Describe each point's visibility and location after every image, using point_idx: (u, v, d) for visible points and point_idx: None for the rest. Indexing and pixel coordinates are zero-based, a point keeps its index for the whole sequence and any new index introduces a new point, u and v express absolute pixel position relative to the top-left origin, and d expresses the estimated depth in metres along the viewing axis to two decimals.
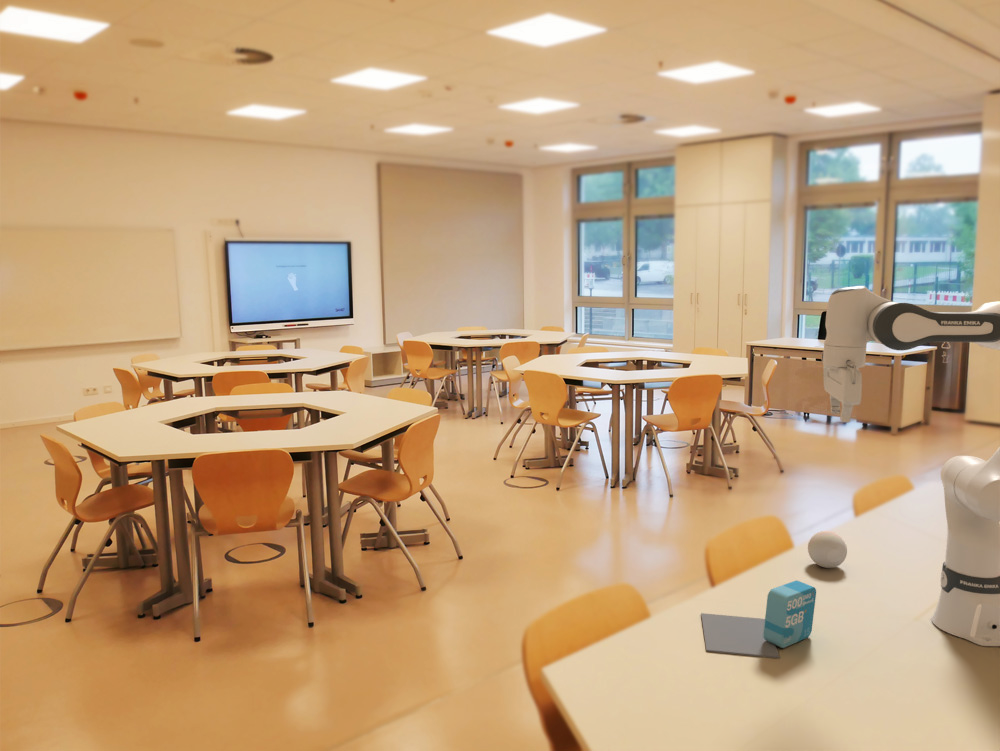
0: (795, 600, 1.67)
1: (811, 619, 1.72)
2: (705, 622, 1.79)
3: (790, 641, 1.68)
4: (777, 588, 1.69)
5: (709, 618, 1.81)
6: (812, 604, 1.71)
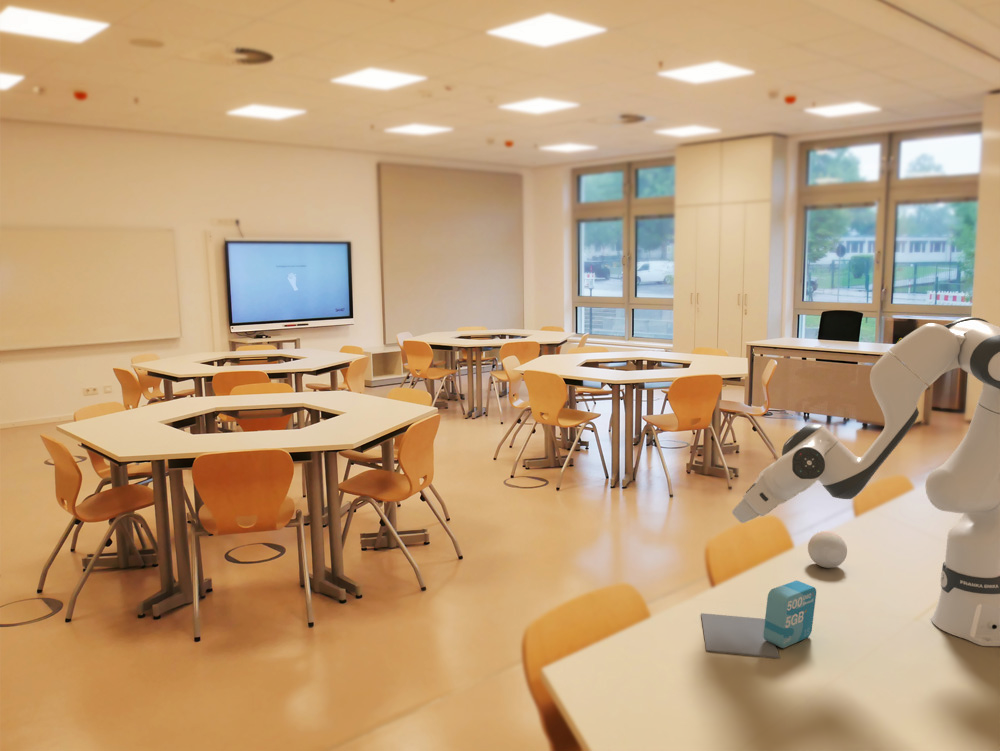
0: (795, 600, 1.67)
1: (811, 619, 1.72)
2: (705, 622, 1.79)
3: (790, 641, 1.68)
4: (777, 588, 1.69)
5: (709, 618, 1.81)
6: (812, 604, 1.71)
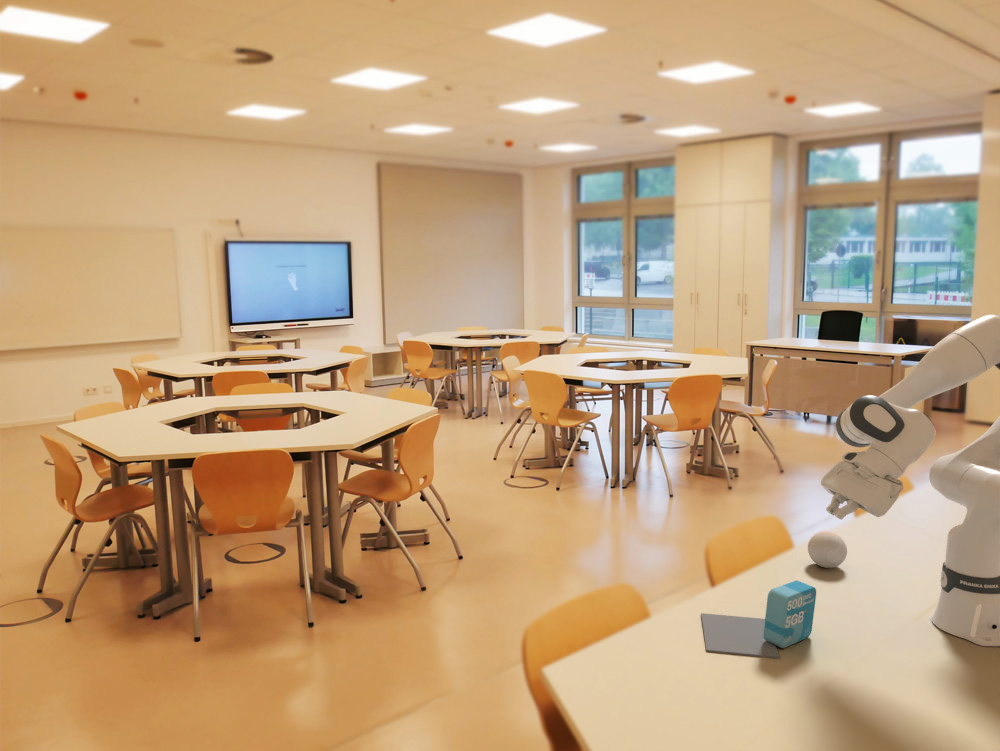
0: (795, 600, 1.67)
1: (811, 619, 1.72)
2: (705, 622, 1.79)
3: (790, 641, 1.68)
4: (777, 588, 1.69)
5: (709, 618, 1.81)
6: (812, 604, 1.71)
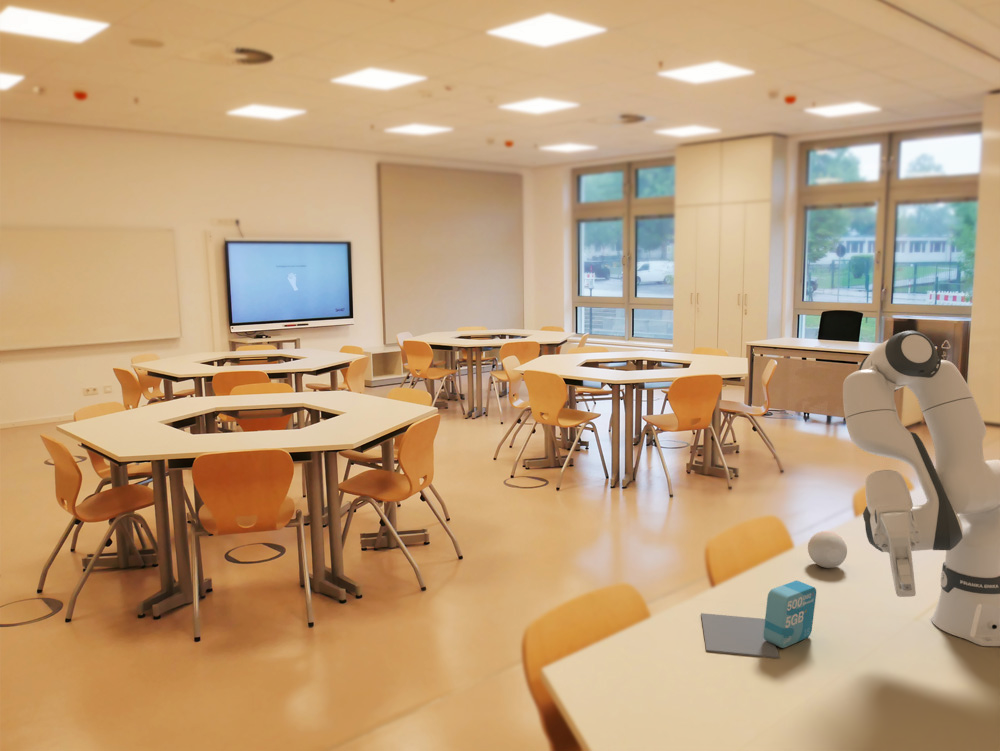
0: (795, 600, 1.67)
1: (811, 619, 1.72)
2: (705, 622, 1.79)
3: (790, 641, 1.68)
4: (777, 588, 1.69)
5: (709, 618, 1.81)
6: (812, 604, 1.71)
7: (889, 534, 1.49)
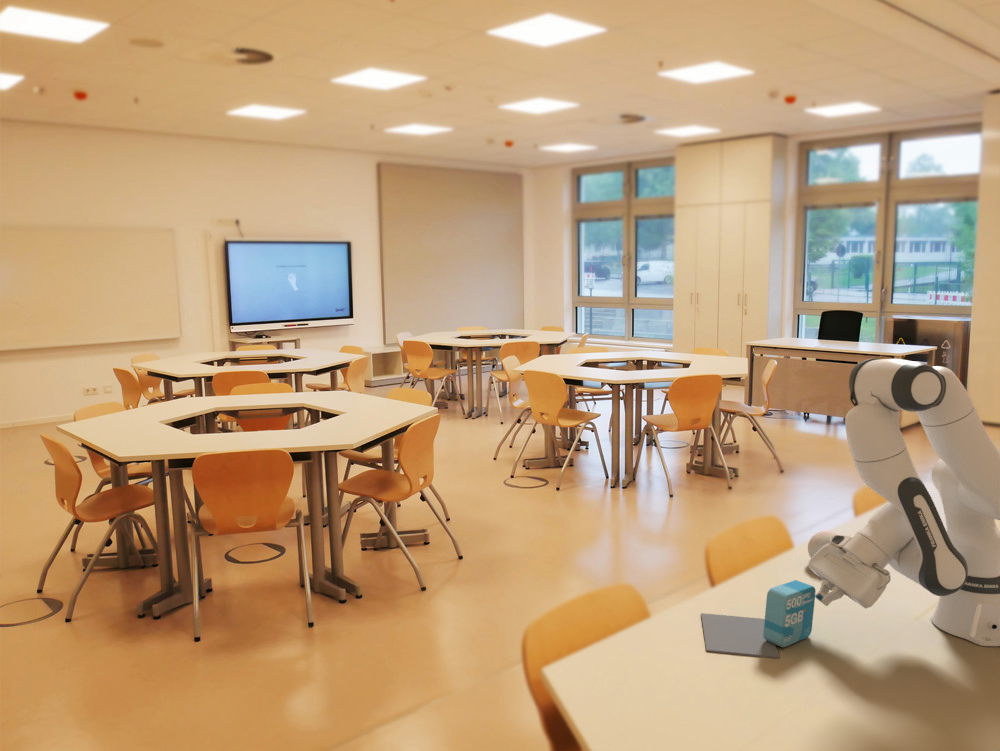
0: (794, 599, 1.67)
1: (811, 619, 1.72)
2: (705, 622, 1.79)
3: (790, 640, 1.68)
4: (776, 587, 1.69)
5: (709, 618, 1.81)
6: (811, 603, 1.72)
7: None
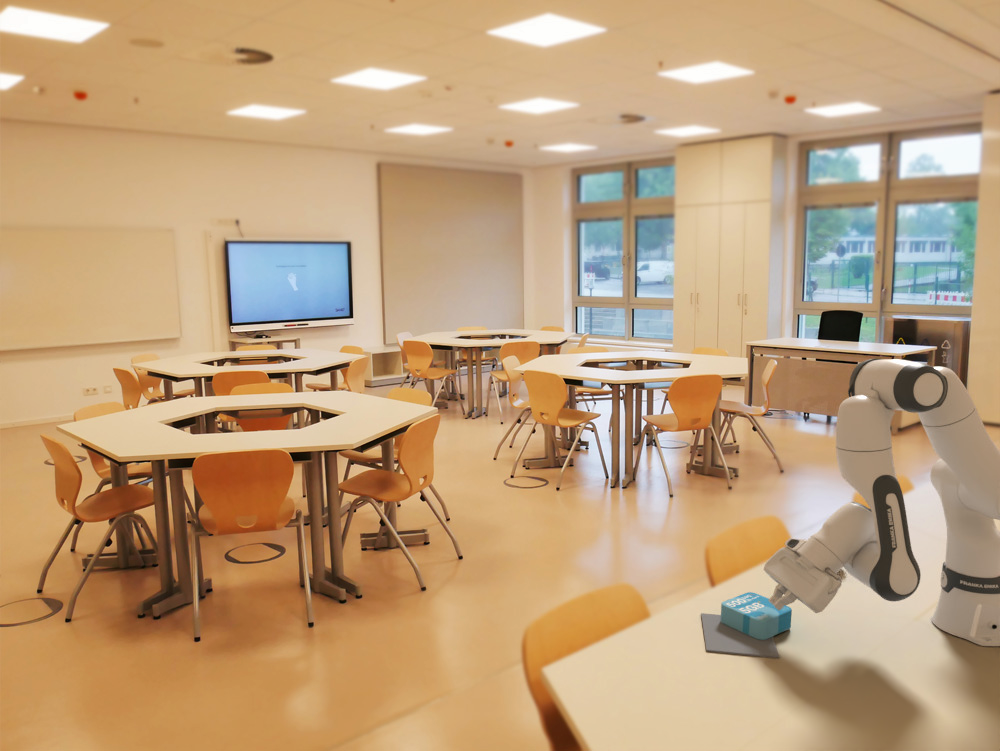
0: (734, 601, 1.80)
1: None
2: (705, 622, 1.79)
3: (769, 616, 1.72)
4: None
5: (709, 618, 1.81)
6: (762, 597, 1.82)
7: None
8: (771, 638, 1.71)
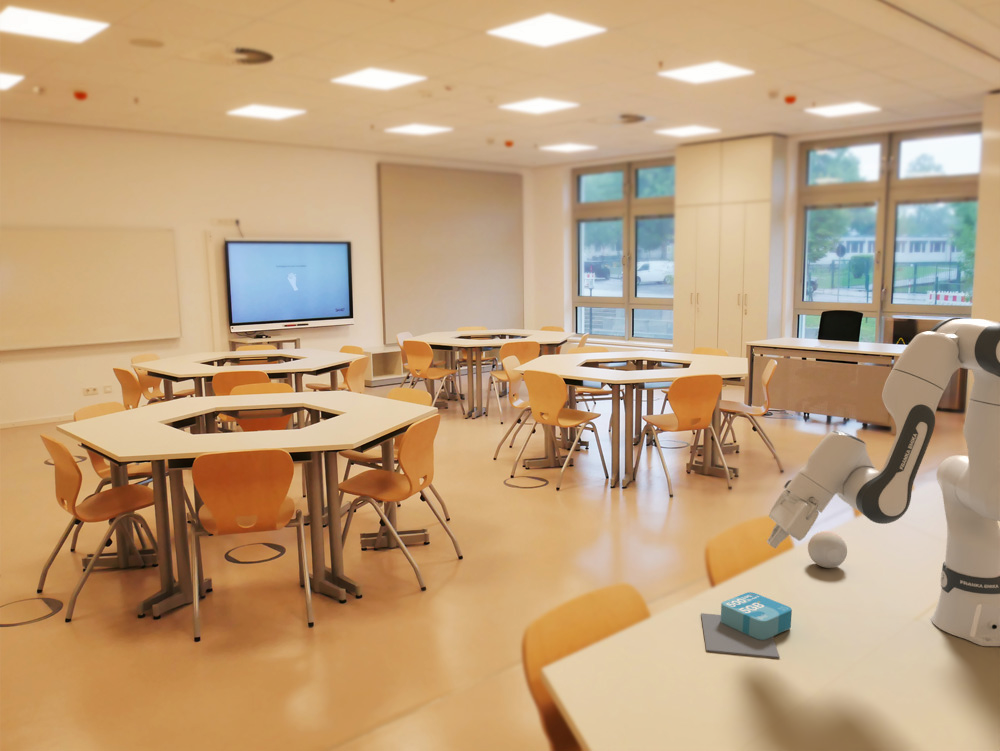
0: (734, 601, 1.80)
1: (776, 603, 1.79)
2: (705, 622, 1.79)
3: (769, 616, 1.72)
4: None
5: (709, 618, 1.81)
6: (762, 597, 1.82)
7: None
8: (771, 638, 1.71)
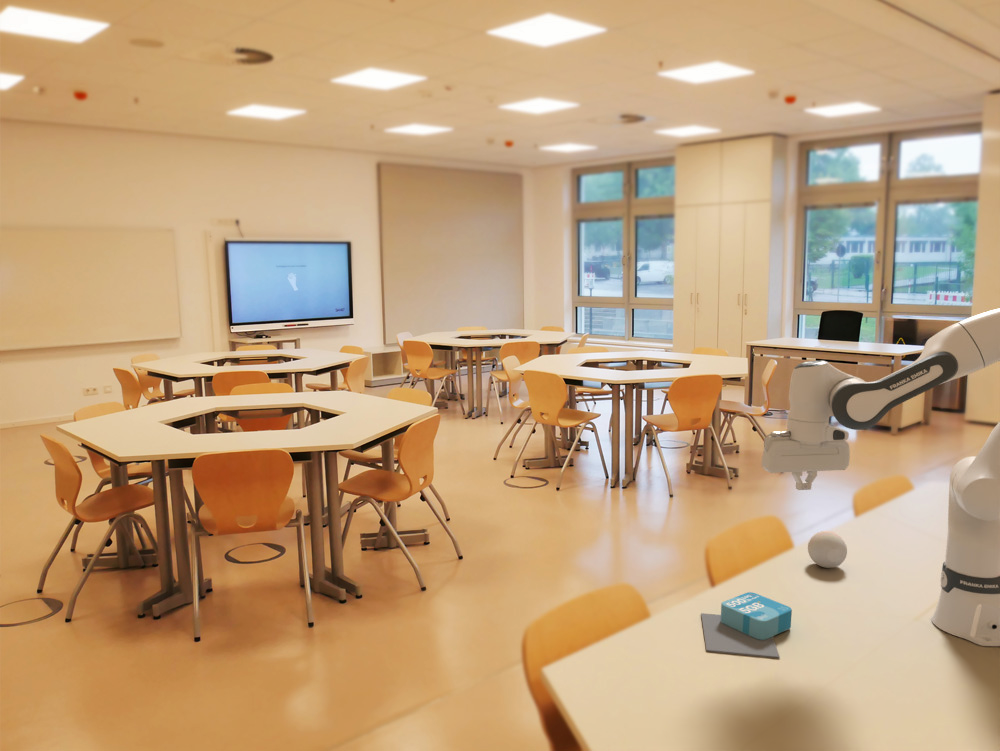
0: (734, 601, 1.80)
1: (776, 603, 1.79)
2: (705, 622, 1.79)
3: (769, 616, 1.72)
4: None
5: (709, 618, 1.81)
6: (762, 597, 1.82)
7: (846, 467, 1.78)
8: (771, 638, 1.71)
